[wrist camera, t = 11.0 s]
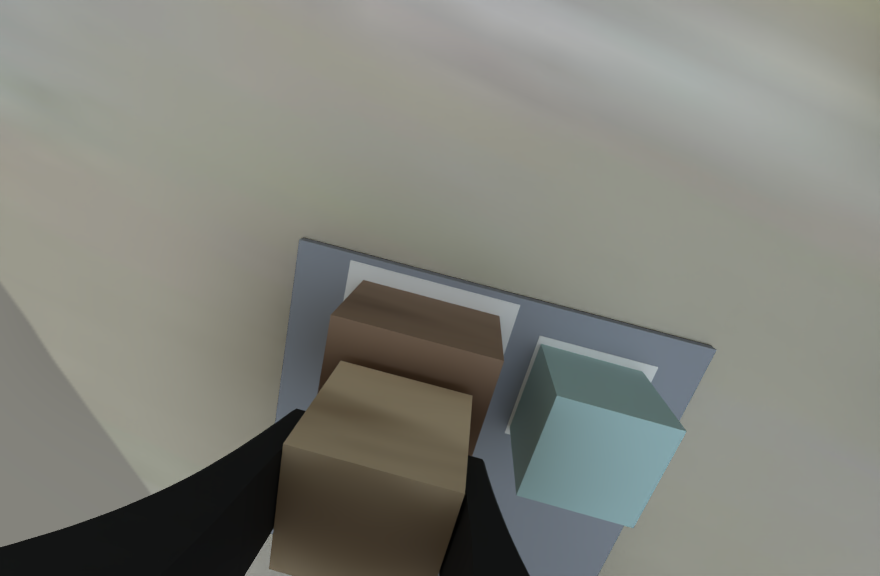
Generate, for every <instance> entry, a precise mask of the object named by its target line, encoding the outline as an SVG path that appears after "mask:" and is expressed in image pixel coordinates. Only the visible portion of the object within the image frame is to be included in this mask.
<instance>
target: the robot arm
mask: <svg viewBox="0 0 880 576" xmlns="http://www.w3.org/2000/svg"><path fill="white" fill-rule="evenodd" d="M305 412H306V411H304V410H300V409H297V408H296V409H295V410H293V411H291V412H290V413H288V414H287V415H286V416H284V417H283V418H282V419H280V420H279V421H277V422H276V423H275V424H273V425H272V426H270V427H269V428H268V429H266V430H265V431H263V432H262V433H260V434H259V435H257V436H256V437H254V438H253V439H251V440H250V441H248V442H247V443H245V444H244V445H242V446H241V447H239V448H238V449H236V450H235V451H233V452H231V453H230V454H228V455H226V456H225V457H223V458H221V459H220V460H218V461H216V462H215V463H213V464H211V465H210V466H208V467H206V468H204V469H202V470H201V471H199V472H197V473H195V474H193V475H191V476H190V477H188V478H186V479H184V480H182V481H180V482H178V483H176V484H174V485H172V486H170V487H168V488H166V489H163V490H161V491H159V492H157V493H155V494H152V495H150V496H148V497H145V498H143V499H141V500H139V501H136V502H134V503H131V504H129V505H127V506H125V507H122V508H119V509H117V510H115V511H112V512H109V513H106V514H104V515H101V516H98V517H96V518H93V519H90V520H87V521H85V522H82V523H79V524H76V525H73V526H70V527H67V528H64V529H61V530H58V531H55V532H51V533H48V534H45V535H41V536H38V537H34V538H31V539H28V540H24V541H21V542H18V543H14V544H11V545H7V546H4V547H0V576H245V574H246V572H247V570H248V569H249V567H250V566H251V564H252V562H253V561H254V559H255V557H256V556H257V554H258V553H259V551H260V549H261V548H262V546H263V545H264V543H265V541H266V540H267V538H268V536H269V535H270V533H271V532H272V530H273V528H274V521H275V512H276V503H277V494H278V485H279V476H280V467H281V458H282V449H283V443H284V442H285V440H286V439H287V437H288V436H289V435H290V433H291V432H292V430H293V429H294V427H295V426H296V424H297V423H298V422H299V420H300V419H301V417H302V416H303V414H304V413H305ZM439 576H530V575H529V573H528V571H527V569H526V567H525V565H524V563H523V561H522V559H521V557H520V555H519V553H518V550H517V548H516V546H515V544H514V542H513V540H512V537H511V535H510V533H509V531H508V528H507V526H506V523H505V521H504V518H503V516H502V513H501V511H500V508H499V506H498V503H497V500H496V498H495V495H494V492H493V489H492V486H491V483H490V480H489V477H488V473H487V470H486V466H485V463H484V461H483V459H480V458H477V457H473V456H469V455H468V461H467V474H466V487H465V495H464V498H463V501H462V504H461V507H460V510H459V513H458V516H457V519H456V522H455V525H454V528H453V531H452V534H451V537H450V540H449V543H448V546H447V549H446V552H445V555H444V558H443V561H442V564H441V567H440V570H439Z"/></svg>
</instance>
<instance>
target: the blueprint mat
mask: <svg viewBox="0 0 880 576" xmlns="http://www.w3.org/2000/svg"><path fill="white" fill-rule="evenodd" d="M363 280H366V281H370V282H374V283H377V284H381V285H385V286H389V287H392V288H396V289H400V290H404V291H407V292H411V293H415V294H419V295H422V296H426V297H430V298H434V299H437V300H441V301H445V302H449V303H452V304H456V305H460V306H464V307H467V308H471V309H475V310H479V311H482V312H486V313H490V314H494V315H497V316H500V326H501V335H502V345H503V354H504V363H503V366H502V369H501V372H500V375H499V378H498V381H497V384H496V387H495V390H494V393H493V396H492V399H491V402H490V405H489V408H488V411H487V414H486V417H485V420H484V423H483V426H482V428H481V431H480V434H479V437H478V440H477V443H476V446H475V449H474V452H473V455H472V456H473V457H477V458H480V459H483V461H484V463H485V466H486V470H487V473H488V477H489V480H490V483H491V486H492V489H493V492H494V495H495V498H496V500H497V503H498V506H499V508H500V511H501V513H502V516H503V518H504V521H505V523H506V526H507V528H508V531H509V533H510V535H511V537H512V540H513V542H514V544H515V546H516V548H517V550H518V553H519V555H520V557H521V559H522V561H523V563H524V565H525V567H526V569H527V571H528V573H529V575H530V576H598V574H599V572H600V570H601V568H602V566H603V564H604V563H605V561H606V559H607V557H608V555H609V553H610V551H611V549H612V547H613V546H614V544H615V542H616V540H617V538H618V536H619V534H620V532H621V530H622V528H623V527H624V525H620V524H617V523H613V522H610V521H606V520H602V519H599V518H595V517H592V516H588V515H585V514H581V513H577V512H574V511H570V510H567V509H563V508H559V507H556V506H552V505H549V504H545V503H542V502H538V501H534V500H531V499H527V498H524V497H520V496H517V495H516V487H515V477H514V467H513V457H512V447H511V437H510V425H511V423H512V420H513V417H514V415H515V412H516V409H517V407H518V404H519V401H520V399H521V396H522V393H523V391H524V388H525V385H526V382H527V380H528V377H529V374H530V372H531V369H532V366H533V364H534V361H535V358H536V356H537V353H538V350H539V348H540V345H541V344H544V345H547V346H551V347H555V348H558V349H562V350H566V351H569V352H573V353H577V354H580V355H584V356H588V357H591V358H595V359H598V360H602V361H606V362H609V363H613V364H617V365H620V366H624V367H628V368H631V369H635V370H639V371H642V372H643V373H644V374H645V376H646V377H647V378H648V380H649V381H650V382H651V384H652V385H653V386H654V388H655V389H656V391H657V392H658V393H659V395H660V396H661V397H662V399H663V400H664V401H665V403H666V404H667V405H668V407H669V408H670V410H671V411H672V412H673V414H674V415H675V416H676V418H677V419H678V420H680V418H681V417H682V415H683V413H684V411H685V409H686V407H687V405H688V403H689V401H690V399H691V398H692V396H693V394H694V392H695V390H696V388H697V386H698V384H699V382H700V381H701V379H702V377H703V375H704V373H705V371H706V369H707V367H708V365H709V363H710V362H711V360H712V358H713V356H714V354H715V352H716V349H715V348H713V347H712V346H710V345H707V344H703V343H699V342H695V341H691V340H688V339H684V338H680V337H676V336H673V335H669V334H665V333H661V332H657V331H654V330H650V329H646V328H642V327H639V326H635V325H631V324H627V323H624V322H620V321H616V320H612V319H608V318H605V317H601V316H597V315H593V314H590V313H586V312H582V311H578V310H574V309H571V308H567V307H563V306H559V305H556V304H552V303H548V302H544V301H541V300H537V299H533V298H529V297H525V296H522V295H518V294H514V293H510V292H507V291H503V290H499V289H495V288H491V287H488V286H484V285H480V284H476V283H473V282H469V281H465V280H461V279H458V278H454V277H450V276H446V275H442V274H439V273H435V272H431V271H427V270H424V269H420V268H416V267H412V266H409V265H405V264H401V263H397V262H393V261H390V260H386V259H382V258H378V257H375V256H371V255H367V254H363V253H359V252H356V251H352V250H348V249H344V248H341V247H337V246H333V245H329V244H326V243H322V242H318V241H314V240H310V239H307V238H302V239H299V247H298V254H297V262H296V270H295V277H294V285H293V292H292V300H291V307H290V315H289V322H288V330H287V337H286V345H285V353H284V360H283V368H282V375H281V383H280V390H279V398H278V405H277V413H276V420H275V423H276V422H277V421H279V420H280V419H282V418H283V417H284V416H286V415H287V414H288V413H290V412H291V411H293V410H295V409H296V408H297V409H300V410H304V411H306V410H307V409H308V407H309V406H310V404H311V403H312V401H313V400H314V399H315V397H316V396H317V393H318V387H319V381H320V375H321V369H322V363H323V358H324V352H325V346H326V340H327V334H328V328H329V322H330V316H331V314H332V313H333V312H334V311H335V310H336V308H337V307H338V306H339V305H340V304H341V303H342V302H343V301H344V300H345V299H346V298H347V297H348V296H349V295H350V294H351V293H352V292H353V290H354V289H355V288H356V287H357V286H358V285H359V284H360V283H361V282H362V281H363ZM273 530H274V528H273ZM273 530H272V532H271V533H270V534H273ZM438 576H439V573H438Z"/></svg>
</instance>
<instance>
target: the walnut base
mask: <svg viewBox="0 0 880 576" xmlns="http://www.w3.org/2000/svg"><path fill="white" fill-rule="evenodd" d="M340 361H344V362H348V363H352V364H356V365H359V366H363V367H367V368H371V369H374V370H378V371H382V372H386V373H389V374H393V375H397V376H401V377H404V378H408V379H412V380H416V381H419V382H423V383H427V384H431V385H434V386H438V387H442V388H446V389H449V390H453V391H457V392H461V393H464V394H468V395H472V396H473V397H472V410H471V423H470V435H469V448H468V455H469V456H472V455H473V452H474V449H475V446H476V443H477V440H478V437H479V434H480V431H481V428H482V426H483V423H484V420H485V417H486V414H487V411H488V408H489V405H490V402H491V399H492V396H493V393H494V390H495V387H496V384H497V381H498V378H499V375H500V372H501V369H502V366H503V363H504V354H503V345H502V335H501V326H500V316H497V315H494V314H490V313H486V312H482V311H479V310H475V309H471V308H467V307H464V306H460V305H456V304H452V303H449V302H445V301H441V300H437V299H434V298H430V297H426V296H422V295H419V294H415V293H411V292H407V291H404V290H400V289H396V288H392V287H389V286H385V285H381V284H377V283H374V282H370V281H366V280H363V281H362V282H361V283H360V284H359V285H358V286H357V287H356V288H355V289H354V290H353V292H352V293H351V294H350V295H349V296H348V297H347V298H346V299H345V300H344V301H343V302H342V303H341V304H340V305H339V306H338V307H337V308H336V310H335V311H334V312H333V313H332V314H331V316H330V322H329V328H328V334H327V340H326V346H325V352H324V358H323V363H322V369H321V375H320V381H319V387H318V393H319V391H320V390H321V388H322V387H323V386H324V384H325V383H326V381H327V380H328V378H329V377H330V375H331V374H332V373H333V371H334V370H335V368H336V367H337V365H338V364H339V362H340ZM318 393H317V394H318Z"/></svg>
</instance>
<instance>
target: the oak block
mask: <svg viewBox="0 0 880 576" xmlns="http://www.w3.org/2000/svg"><path fill="white" fill-rule="evenodd" d="M472 397H473V396H472V395H468V394H464V393H461V392H457V391H453V390H449V389H446V388H442V387H438V386H434V385H431V384H427V383H423V382H419V381H416V380H412V379H408V378H404V377H401V376H397V375H393V374H389V373H386V372H382V371H378V370H374V369H371V368H367V367H363V366H359V365H356V364H352V363H348V362H344V361H340V362H339V364H338V365H337V367H336V368H335V370H334V371H333V373H332V374H331V375H330V377H329V378H328V380H327V381H326V383H325V384H324V386H323V387H322V388H321V390H320V391H319V393H318V394H317V396H316V397H315V399H314V400H313V401H312V403H311V404H310V406H309V407H308V409H307V410H306V412H305V413H304V414H303V416H302V417H301V419H300V420H299V422H298V423H297V424H296V426H295V427H294V429H293V430H292V432H291V433H290V435H289V436H288V437H287V439H286V440H285V442H284V443H283V449H282V458H281V467H280V476H279V485H278V494H277V503H276V512H275V521H274V530H273V539H272V548H271V557H270V566H269V569H271V570H275V571H278V572H282V573H285V574H289V575H292V576H438V573H439V570H440V567H441V564H442V561H443V558H444V555H445V552H446V549H447V546H448V543H449V540H450V537H451V534H452V531H453V528H454V525H455V522H456V519H457V516H458V513H459V510H460V507H461V504H462V501H463V498H464V495H465V487H466V474H467V461H468V448H469V435H470V423H471V410H472Z"/></svg>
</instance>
